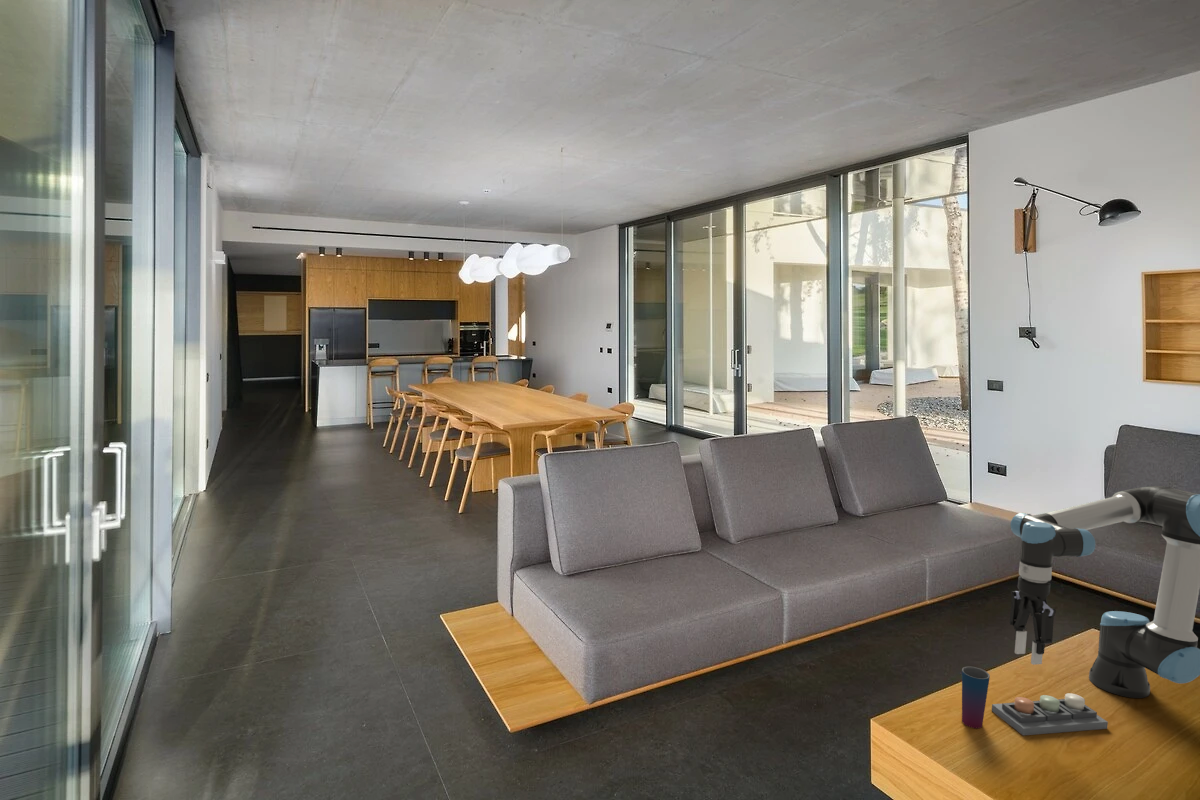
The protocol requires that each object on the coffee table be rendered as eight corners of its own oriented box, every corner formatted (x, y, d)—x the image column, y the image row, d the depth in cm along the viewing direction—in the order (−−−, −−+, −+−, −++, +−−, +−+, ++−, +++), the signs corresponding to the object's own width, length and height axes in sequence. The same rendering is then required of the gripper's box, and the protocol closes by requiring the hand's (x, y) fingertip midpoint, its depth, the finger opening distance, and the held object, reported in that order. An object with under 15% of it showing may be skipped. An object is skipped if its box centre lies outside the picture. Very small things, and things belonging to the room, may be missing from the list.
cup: (989, 731, 185) (993, 680, 183) (962, 728, 186) (966, 677, 184) (980, 717, 191) (984, 667, 190) (955, 714, 193) (958, 665, 191)
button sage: (1049, 702, 193) (1050, 694, 193) (1063, 711, 188) (1063, 703, 188) (1035, 703, 192) (1036, 695, 192) (1048, 712, 188) (1049, 704, 188)
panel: (1071, 704, 199) (1072, 693, 198) (1107, 728, 187) (1108, 716, 186) (991, 710, 195) (992, 699, 195) (1022, 735, 183) (1023, 723, 183)
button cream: (1074, 700, 194) (1075, 692, 194) (1088, 709, 190) (1089, 701, 189) (1060, 701, 194) (1061, 693, 193) (1073, 710, 189) (1074, 702, 189)
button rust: (1024, 704, 192) (1025, 696, 192) (1037, 713, 187) (1038, 705, 187) (1010, 705, 191) (1011, 697, 191) (1022, 714, 187) (1023, 706, 186)
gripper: (998, 567, 194) (992, 643, 196) (1048, 591, 176) (1041, 675, 178) (1021, 566, 195) (1015, 642, 197) (1074, 590, 177) (1066, 674, 179)
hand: (1027, 658), depth 188 cm, fingers open, 5 cm apart
